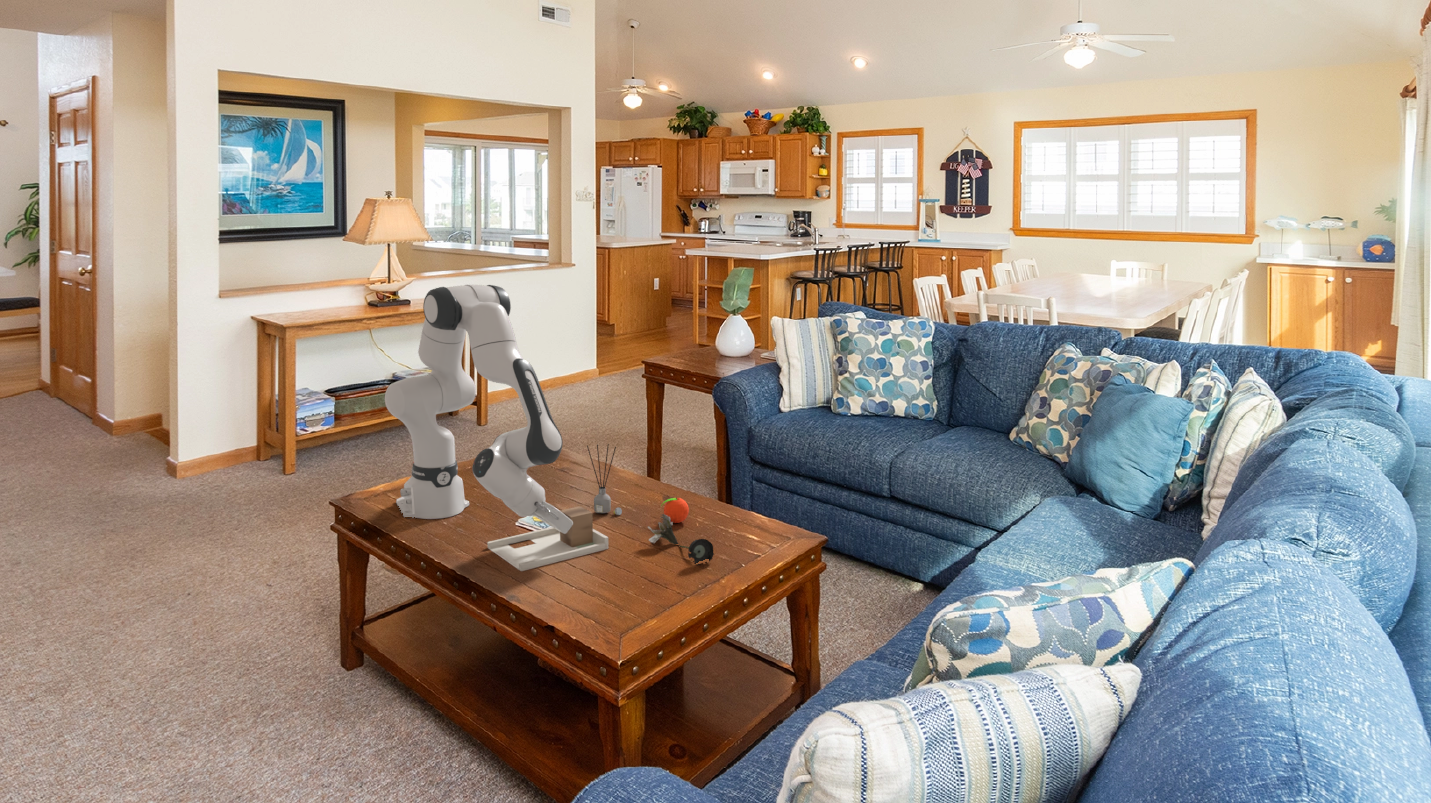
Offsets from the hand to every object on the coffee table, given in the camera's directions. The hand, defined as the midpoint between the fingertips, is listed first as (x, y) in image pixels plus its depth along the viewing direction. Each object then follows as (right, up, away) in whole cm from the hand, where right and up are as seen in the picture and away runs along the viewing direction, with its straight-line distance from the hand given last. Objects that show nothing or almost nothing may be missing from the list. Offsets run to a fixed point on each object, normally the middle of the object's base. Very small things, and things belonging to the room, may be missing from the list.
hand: (562, 527), depth 230 cm
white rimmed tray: (-3, -6, -1) cm, 7 cm away
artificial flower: (+28, -6, +3) cm, 29 cm away
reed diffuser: (+7, 0, +30) cm, 30 cm away
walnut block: (+3, -4, +3) cm, 6 cm away
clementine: (+27, -2, +23) cm, 35 cm away
